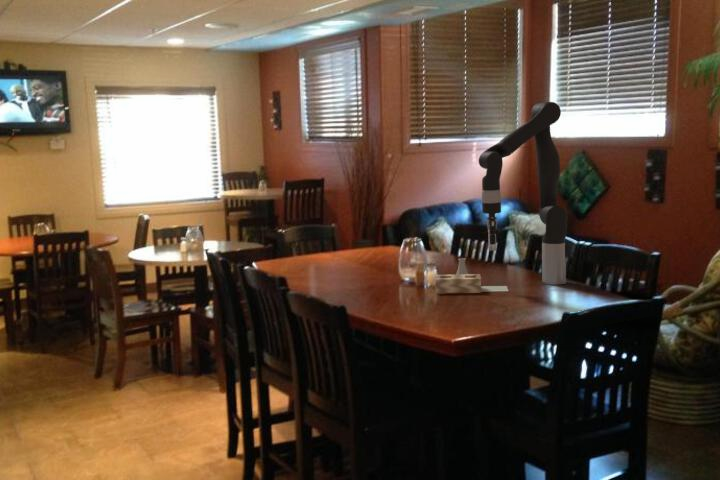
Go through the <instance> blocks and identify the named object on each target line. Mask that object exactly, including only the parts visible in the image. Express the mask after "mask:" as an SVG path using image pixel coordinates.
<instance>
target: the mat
mask: <svg viewBox="0 0 720 480" xmlns="http://www.w3.org/2000/svg"><path fill="white" fill-rule="evenodd" d="M482 292H486V293H487V292H489V293H490V292H509V289H508V286H507V285H483V286H482V285H481V293H482Z"/></svg>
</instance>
